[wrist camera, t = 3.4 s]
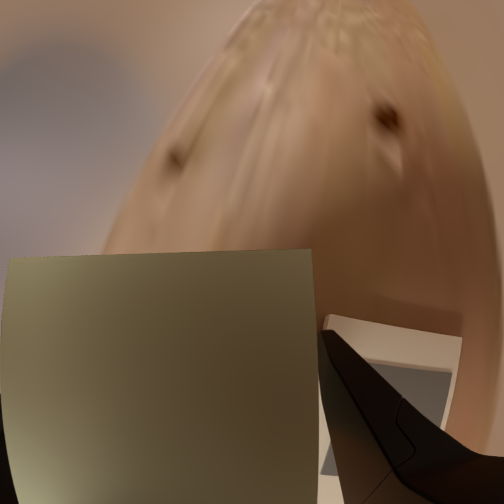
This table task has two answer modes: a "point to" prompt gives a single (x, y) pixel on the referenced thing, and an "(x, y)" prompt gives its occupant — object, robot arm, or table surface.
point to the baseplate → (393, 379)
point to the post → (161, 378)
